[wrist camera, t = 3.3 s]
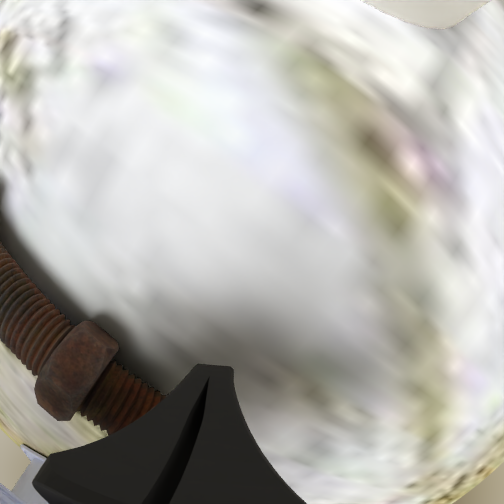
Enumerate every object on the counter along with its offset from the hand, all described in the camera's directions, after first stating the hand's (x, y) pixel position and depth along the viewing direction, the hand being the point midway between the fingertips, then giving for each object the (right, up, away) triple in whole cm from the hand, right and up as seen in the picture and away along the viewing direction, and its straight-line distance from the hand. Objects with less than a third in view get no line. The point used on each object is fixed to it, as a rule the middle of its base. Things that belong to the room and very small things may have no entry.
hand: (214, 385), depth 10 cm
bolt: (-8, +2, +2) cm, 9 cm away
